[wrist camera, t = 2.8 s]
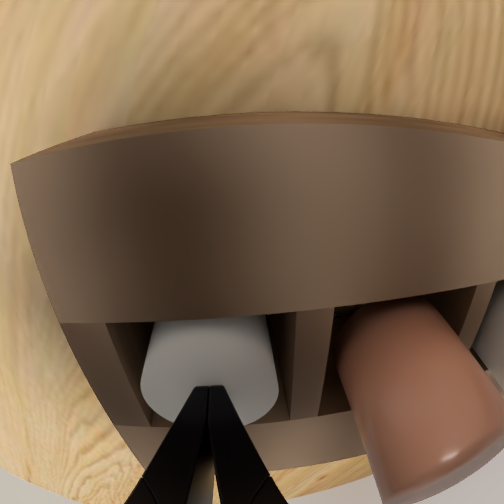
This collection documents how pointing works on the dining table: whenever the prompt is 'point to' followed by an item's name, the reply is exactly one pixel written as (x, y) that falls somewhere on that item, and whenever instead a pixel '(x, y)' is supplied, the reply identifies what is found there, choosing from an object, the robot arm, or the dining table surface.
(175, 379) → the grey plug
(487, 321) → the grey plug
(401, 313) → the terracotta plug
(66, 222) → the walnut socket block
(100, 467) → the dining table surface
